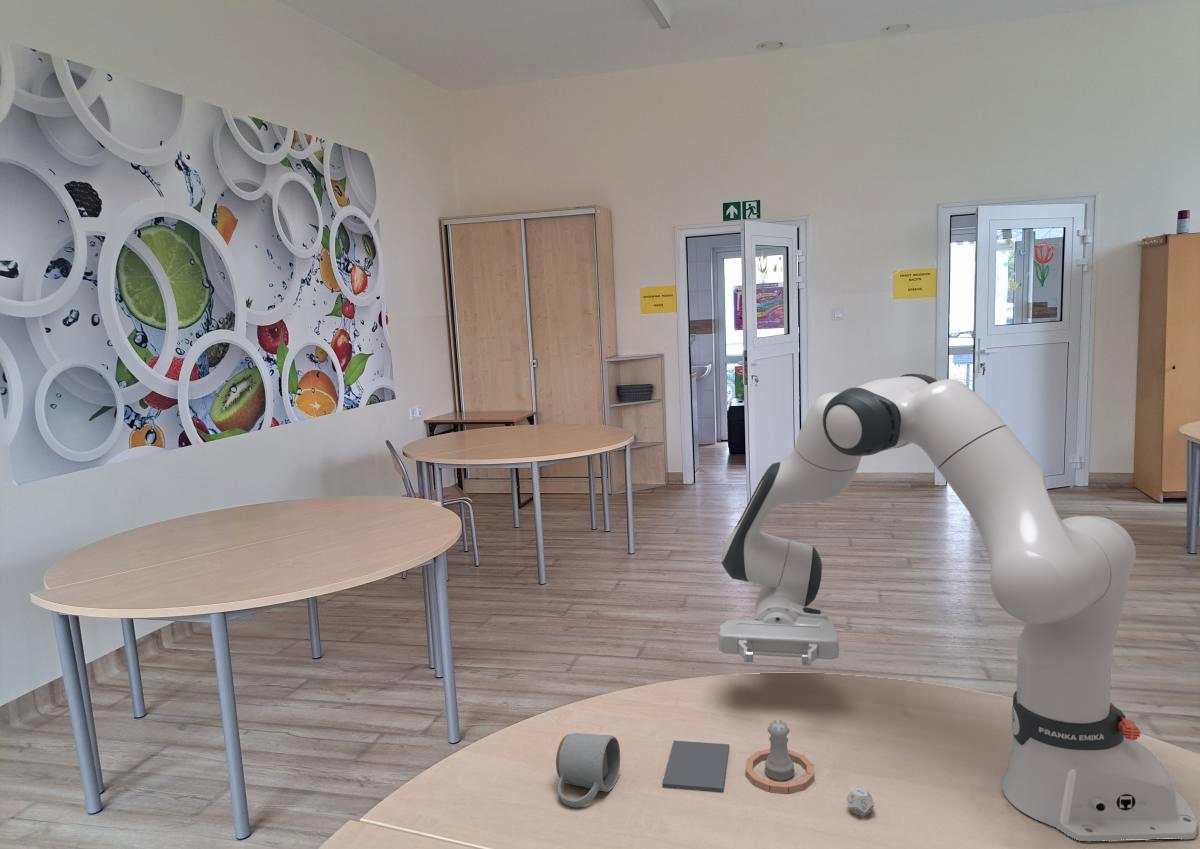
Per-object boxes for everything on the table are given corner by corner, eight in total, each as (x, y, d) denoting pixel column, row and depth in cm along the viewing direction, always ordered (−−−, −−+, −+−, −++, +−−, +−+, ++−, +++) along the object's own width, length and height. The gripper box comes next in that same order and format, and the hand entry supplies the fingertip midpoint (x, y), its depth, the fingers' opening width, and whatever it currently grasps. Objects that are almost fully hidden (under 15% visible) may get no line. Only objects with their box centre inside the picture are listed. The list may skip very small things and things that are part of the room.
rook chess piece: (790, 763, 123) (788, 715, 122) (798, 780, 119) (797, 730, 118) (761, 766, 123) (759, 717, 122) (768, 783, 119) (767, 733, 118)
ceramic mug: (574, 764, 127) (570, 719, 125) (622, 772, 124) (619, 726, 122) (546, 805, 117) (541, 757, 116) (598, 815, 114) (594, 766, 113)
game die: (864, 823, 109) (863, 803, 108) (841, 810, 112) (841, 791, 111) (879, 812, 111) (879, 793, 110) (857, 800, 114) (856, 781, 113)
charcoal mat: (729, 747, 129) (729, 744, 129) (723, 792, 117) (723, 788, 117) (673, 743, 131) (673, 740, 131) (662, 787, 119) (662, 783, 119)
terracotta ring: (812, 757, 125) (812, 751, 125) (814, 795, 115) (814, 789, 115) (747, 752, 127) (747, 746, 127) (744, 789, 117) (744, 783, 117)
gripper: (720, 606, 147) (713, 638, 134) (836, 611, 142) (840, 644, 129) (721, 639, 148) (714, 673, 135) (836, 645, 143) (840, 681, 130)
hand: (777, 659), depth 132 cm, fingers open, 8 cm apart
